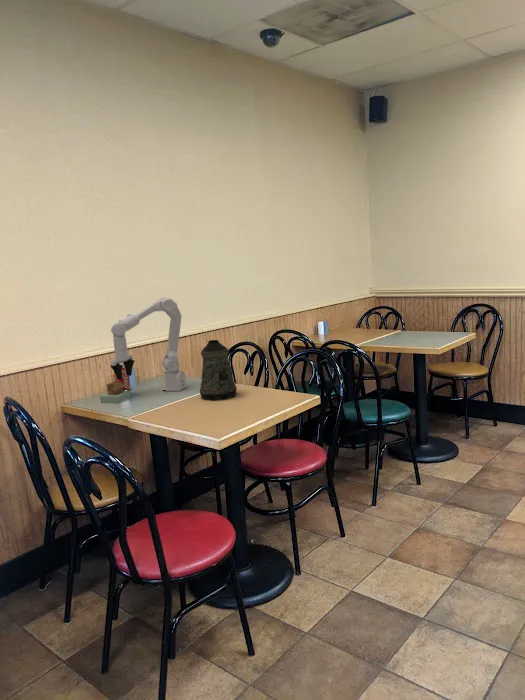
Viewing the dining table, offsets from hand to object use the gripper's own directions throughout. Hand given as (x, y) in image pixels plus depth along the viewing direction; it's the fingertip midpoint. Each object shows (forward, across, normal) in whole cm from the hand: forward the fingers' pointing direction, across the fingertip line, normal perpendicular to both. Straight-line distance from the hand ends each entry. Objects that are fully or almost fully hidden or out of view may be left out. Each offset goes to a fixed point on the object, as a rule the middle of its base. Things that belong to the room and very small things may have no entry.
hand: (124, 377), depth 259 cm
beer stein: (+10, -5, +44) cm, 46 cm away
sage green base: (+9, +6, -2) cm, 11 cm away
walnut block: (+6, +6, -2) cm, 9 cm away
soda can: (+10, -11, -10) cm, 18 cm away
